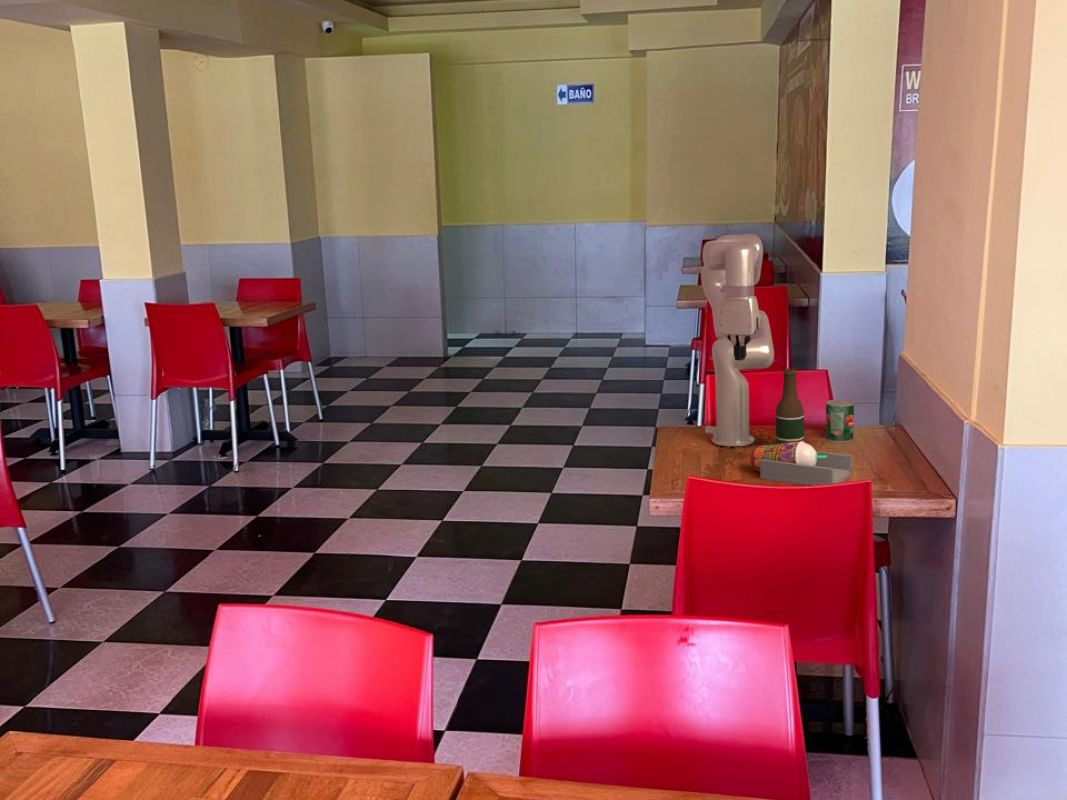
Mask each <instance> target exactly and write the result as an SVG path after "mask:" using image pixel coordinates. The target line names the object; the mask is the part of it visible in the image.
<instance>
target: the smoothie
mask: <svg viewBox="0 0 1067 800" xmlns="http://www.w3.org/2000/svg"><path fill="white" fill-rule="evenodd" d="M816 451H817V450H816V449H815V447H813V446H812V445H811V444H809V443H806V442H805V441H804V442H803V441H801V442H792V443H783V444H776V443H775V444H765V445H758V446H757V447H755V448H753V449H752V450H751V452H750V464H751V467H752V468H753V470H755V471H756V470H757V471H758V472H760V460H762V459H766V460H773V461H781V462H788V463H796V464H804V465H811V466H815V465H816V463H817V458H827V455H825V456H817V453H816Z"/></svg>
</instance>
